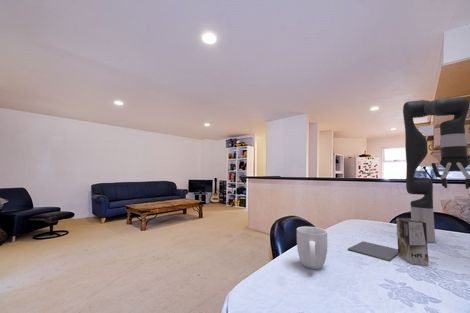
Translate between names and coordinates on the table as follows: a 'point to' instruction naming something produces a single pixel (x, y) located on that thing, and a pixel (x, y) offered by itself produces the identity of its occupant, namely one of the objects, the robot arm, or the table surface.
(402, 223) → the coffee box
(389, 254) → the mat
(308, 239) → the mug
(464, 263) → the table surface
